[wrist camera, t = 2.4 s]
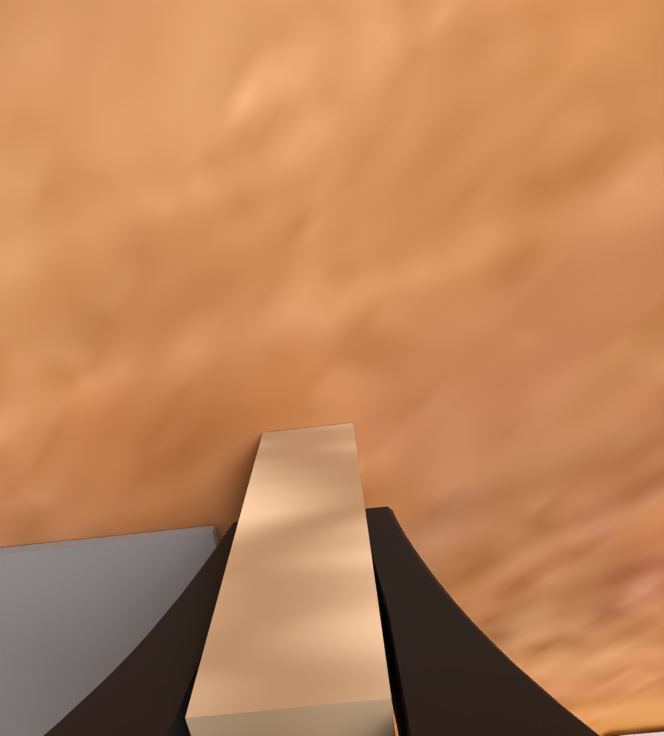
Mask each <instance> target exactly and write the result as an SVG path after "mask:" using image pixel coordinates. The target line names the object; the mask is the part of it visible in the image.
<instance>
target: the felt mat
mask: <svg viewBox="0 0 664 736" xmlns="http://www.w3.org/2000/svg"><path fill="white" fill-rule="evenodd" d="M218 544H219V540H218V536H217V532H216V528H215V525H214V526H204V527H195V528H185V529H175V530H166V531H156V532H147V533H137V534H128V535H118V536H109V537H99V538H89V539H80V540H70V541H61V542H51V543H42V544H32V545H22V546H13V547H3V548H0V736H44V735H45V734H46V733H47V732H48V731H49V730H51V729H52V728H53V727H54V726H55V725H56V724H57V723H58V722H60V721H61V720H62V719H63V718H64V717H65V716H66V715H67V714H68V713H69V712H70V711H71V710H73V709H74V708H75V707H76V706H77V705H78V704H79V703H80V702H81V701H82V700H83V699H84V698H85V697H87V696H88V695H89V694H90V693H91V692H92V691H93V690H94V689H95V688H96V687H97V686H98V685H100V684H101V683H102V682H103V681H104V680H105V679H106V678H107V677H108V676H109V675H110V674H111V673H112V672H113V671H114V670H115V669H116V668H117V667H118V666H119V665H120V664H121V663H122V662H123V660H124V659H125V658H126V657H127V656H128V655H129V654H130V653H131V652H132V651H133V650H134V649H135V648H136V647H137V646H138V644H139V643H140V642H141V641H142V640H143V639H144V638H145V637H146V636H147V634H148V633H149V632H150V631H151V630H152V629H153V628H154V626H155V625H156V624H157V623H158V622H159V620H160V619H161V618H162V617H163V616H164V614H165V613H166V612H167V611H168V610H169V608H170V607H171V606H172V605H173V604H174V602H175V601H176V600H177V599H178V597H179V596H180V595H181V594H182V592H183V591H184V590H185V588H186V587H187V586H188V585H189V583H190V582H191V581H192V579H193V578H194V577H195V575H196V574H197V573H198V571H199V570H200V569H201V567H202V566H203V565H204V563H205V562H206V561H207V559H208V558H209V556H210V555H211V554H212V552H213V551H214V549H215V548H216V547H217V545H218Z"/></svg>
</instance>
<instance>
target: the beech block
mask: <svg viewBox="0 0 664 736" xmlns="http://www.w3.org/2000/svg"><path fill="white" fill-rule="evenodd" d="M185 719H186V722H187V725H188V728H189V731H190V734H191V736H395V731H394V720H393V710H392V700H391V692H390V685H389V678H388V670H387V663H386V656H385V649H384V642H383V635H382V627H381V620H380V613H379V606H378V599H377V591H376V584H375V577H374V570H373V563H372V556H371V548H370V541H369V534H368V527H367V520H366V512H365V505H364V498H363V491H362V484H361V477H360V469H359V462H358V455H357V448H356V441H355V433H354V426H353V423H347V424H338V425H329V426H319V427H310V428H301V429H292V430H283V431H273V432H264V433H262V437H261V441H260V444H259V448H258V452H257V455H256V459H255V463H254V466H253V470H252V474H251V477H250V481H249V485H248V488H247V492H246V496H245V500H244V503H243V507H242V511H241V514H240V518H239V522H238V525H237V529H236V533H235V536H234V540H233V544H232V547H231V551H230V555H229V558H228V562H227V566H226V570H225V573H224V577H223V581H222V584H221V588H220V592H219V595H218V599H217V603H216V606H215V610H214V614H213V617H212V621H211V625H210V628H209V632H208V636H207V640H206V643H205V647H204V651H203V654H202V658H201V662H200V665H199V669H198V673H197V676H196V680H195V684H194V687H193V691H192V695H191V698H190V702H189V706H188V710H187V713H186V717H185Z"/></svg>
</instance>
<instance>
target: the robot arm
mask: <svg viewBox="0 0 664 736" xmlns="http://www.w3.org/2000/svg"><path fill="white" fill-rule="evenodd" d="M365 512H366V520H367V527H368V534H369V541H370V548H371V556H372V563H373V570H374V577H375V584H376V591H377V599H378V606H379V613H380V620H381V627H382V635H383V642H384V649H385V656H386V663H387V670H388V678H389V685H390V692H391V700H392V705H393V709H394V714H395V719H396V723H397V728H398V734H399V736H599V735H598V734H597V733H595V732H594V731H593V730H592V729H590V728H589V727H588V726H587V725H585V724H584V723H583V722H582V721H580V720H579V719H578V718H577V717H575V716H574V715H573V714H572V713H571V712H569V711H568V710H567V709H566V708H564V707H563V706H562V705H561V704H559V703H558V702H557V701H556V700H555V699H554V698H553V697H551V696H550V695H549V694H548V693H547V692H546V691H545V690H544V689H542V688H541V687H540V686H539V685H538V684H537V683H536V682H534V681H533V680H532V679H531V678H530V677H529V676H528V675H527V674H525V673H524V672H523V671H522V670H521V669H520V668H519V667H517V666H516V665H515V664H514V663H513V662H512V661H511V660H510V659H509V658H508V657H507V656H506V655H505V654H504V653H503V652H502V651H501V650H500V649H499V648H498V647H497V646H496V645H495V644H494V643H493V642H491V641H490V640H489V639H488V637H487V636H486V635H485V634H484V633H483V632H482V631H481V630H480V629H479V628H478V627H477V626H476V625H475V624H474V623H473V622H472V621H471V620H470V618H469V617H468V616H467V615H466V614H465V613H464V612H463V611H462V610H461V608H460V607H459V606H458V605H457V604H456V603H455V601H454V600H453V599H452V598H451V597H450V595H449V594H448V593H447V592H446V591H445V589H444V588H443V587H442V586H441V584H440V583H439V582H438V581H437V579H436V578H435V577H434V575H433V574H432V573H431V571H430V570H429V569H428V567H427V566H426V565H425V563H424V562H423V560H422V559H421V558H420V556H419V555H418V553H417V552H416V551H415V549H414V548H413V546H412V545H411V543H410V541H409V540H408V538H407V537H406V535H405V533H404V532H403V530H402V528H401V527H400V525H399V523H398V521H397V519H396V517H395V515H394V513H393V510H391V509H390V508H389V507H378V508H369V509H365ZM237 525H238V522H235V523H233V525H232V526H231V527H230V528H229V530H228V531H227V532H226V534H225V535H224V537H223V538H222V540H221V541H220V542H219V544H218V545H217V547H216V548H215V549H214V551H213V552H212V554H211V555H210V556H209V558H208V559H207V561H206V562H205V563H204V565H203V566H202V567H201V569H200V570H199V571H198V573H197V574H196V575H195V577H194V578H193V579H192V581H191V582H190V583H189V585H188V586H187V587H186V588H185V590H184V591H183V592H182V594H181V595H180V596H179V597H178V599H177V600H176V601H175V602H174V604H173V605H172V606H171V607H170V608H169V610H168V611H167V612H166V613H165V614H164V616H163V617H162V618H161V619H160V620H159V622H158V623H157V624H156V625H155V626H154V628H153V629H152V630H151V631H150V632H149V633H148V634H147V636H146V637H145V638H144V639H143V640H142V641H141V642H140V643H139V644H138V646H137V647H136V648H135V649H134V650H133V651H132V652H131V653H130V654H129V655H128V656H127V657H126V658H125V659H124V660H123V662H122V663H121V664H120V665H119V666H118V667H117V668H116V669H115V670H114V671H113V672H112V673H111V674H110V675H109V676H108V677H107V678H106V679H105V680H104V681H103V682H102V683H101V684H100V685H98V686H97V687H96V688H95V689H94V690H93V691H92V692H91V693H90V694H89V695H88V696H87V697H85V698H84V699H83V700H82V701H81V702H80V703H79V704H78V705H77V706H76V707H75V708H74V709H73V710H71V711H70V712H69V713H68V714H67V715H66V716H65V717H64V718H63V719H62V720H61V721H60V722H58V723H57V724H56V725H55V726H54V727H53V728H52V729H51V730H49V731H48V732H47V733H46V734H45V735H44V736H191V734H190V731H189V728H188V725H187V722H186V719H185V717H186V713H187V710H188V706H189V702H190V698H191V695H192V691H193V687H194V684H195V680H196V676H197V673H198V669H199V665H200V662H201V658H202V654H203V651H204V647H205V643H206V640H207V636H208V632H209V628H210V625H211V621H212V617H213V614H214V610H215V606H216V603H217V599H218V595H219V592H220V588H221V584H222V581H223V577H224V573H225V570H226V566H227V562H228V558H229V555H230V551H231V547H232V544H233V540H234V536H235V533H236V529H237ZM620 736H664V731H662V732H651V733H641V734H630V735H620Z"/></svg>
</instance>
